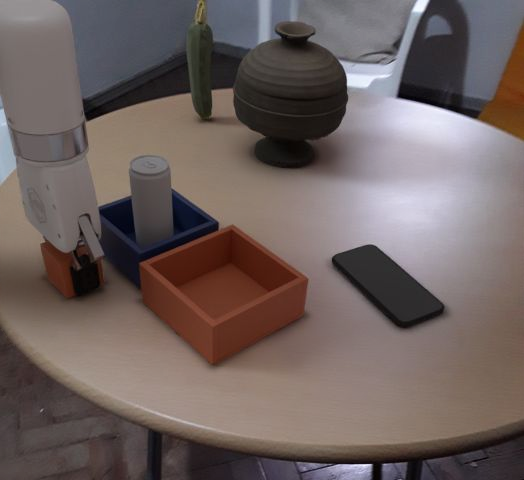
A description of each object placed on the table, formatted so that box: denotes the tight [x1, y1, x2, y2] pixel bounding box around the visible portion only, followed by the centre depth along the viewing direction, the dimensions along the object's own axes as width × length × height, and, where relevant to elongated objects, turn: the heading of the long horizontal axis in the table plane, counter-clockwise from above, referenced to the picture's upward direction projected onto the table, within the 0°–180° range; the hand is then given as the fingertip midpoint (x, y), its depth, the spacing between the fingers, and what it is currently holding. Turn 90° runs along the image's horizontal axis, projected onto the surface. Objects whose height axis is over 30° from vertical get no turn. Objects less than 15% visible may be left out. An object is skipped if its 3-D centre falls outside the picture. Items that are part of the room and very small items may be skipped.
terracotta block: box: [39, 236, 105, 299], centre depth 75 cm, size 5×5×5 cm
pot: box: [232, 20, 349, 169], centre depth 97 cm, size 18×18×20 cm
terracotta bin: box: [139, 224, 309, 366], centre depth 73 cm, size 14×14×6 cm
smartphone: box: [331, 243, 445, 328], centre depth 79 cm, size 7×1×15 cm
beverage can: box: [128, 154, 174, 249], centre depth 77 cm, size 5×5×12 cm
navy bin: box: [98, 187, 220, 292], centre depth 80 cm, size 12×12×6 cm
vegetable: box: [185, 0, 214, 120], centre depth 105 cm, size 4×4×20 cm
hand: (75, 277), depth 76 cm, fingers closed on terracotta block, 5 cm apart
